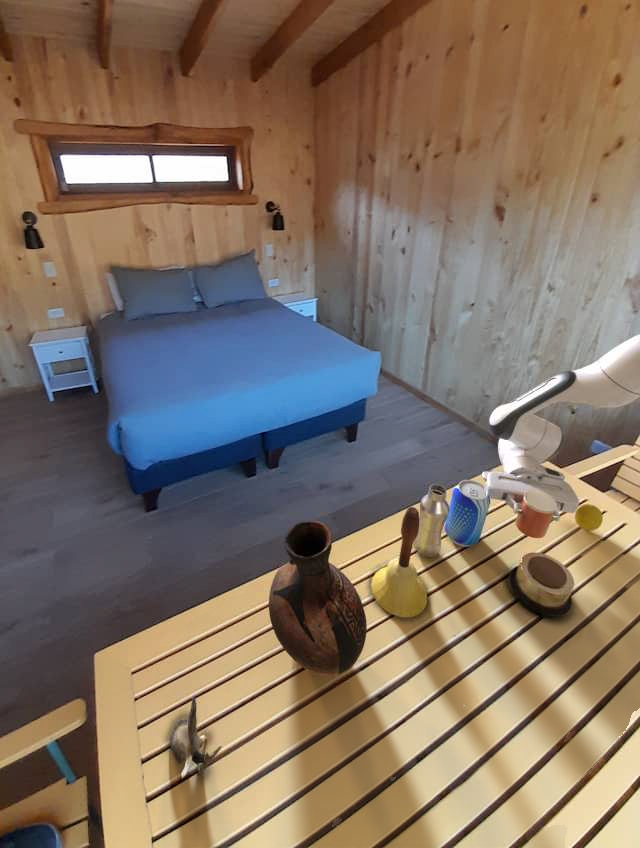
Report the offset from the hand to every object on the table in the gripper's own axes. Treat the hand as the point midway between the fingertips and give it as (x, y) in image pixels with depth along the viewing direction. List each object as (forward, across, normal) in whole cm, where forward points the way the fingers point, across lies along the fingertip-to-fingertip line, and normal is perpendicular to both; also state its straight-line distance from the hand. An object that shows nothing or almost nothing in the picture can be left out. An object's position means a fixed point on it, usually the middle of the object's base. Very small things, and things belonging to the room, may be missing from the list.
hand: (536, 515), depth 95 cm
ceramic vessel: (+36, -46, +12) cm, 60 cm away
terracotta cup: (-1, 0, +5) cm, 5 cm away
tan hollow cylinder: (+12, 0, +11) cm, 17 cm away
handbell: (+20, -30, +12) cm, 38 cm away
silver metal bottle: (+7, -24, +12) cm, 27 cm away
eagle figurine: (+58, -62, +12) cm, 86 cm away
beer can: (0, -15, +12) cm, 19 cm away
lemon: (-11, +16, +12) cm, 23 cm away
